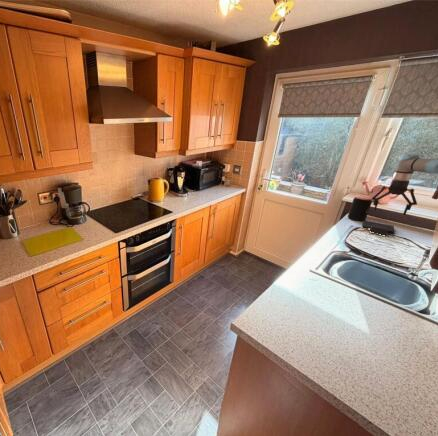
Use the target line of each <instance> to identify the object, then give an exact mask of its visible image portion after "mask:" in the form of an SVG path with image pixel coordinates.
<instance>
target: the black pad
mask: <svg viewBox="0 0 438 436" xmlns="http://www.w3.org/2000/svg"><path fill="white" fill-rule="evenodd" d="M370 231H371V232H374V233H378V234H381V235H385V236H386V237H387V235H388V226H384V225H378V224H373V223H372V224H371V227H370Z"/></svg>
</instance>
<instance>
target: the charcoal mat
mask: <svg viewBox="0 0 438 436" xmlns="http://www.w3.org/2000/svg"><path fill="white" fill-rule="evenodd" d="M372 223H373V224H378V225H384V226H388V233H387V235H392V236H393V235H395V233H396V229H395V226H394V225H391V224H387V223H381V222H375V221H370V220H363V221H362V226H361V228H362V227H363V228H370V227H371V224H372ZM363 228H362V229H363Z"/></svg>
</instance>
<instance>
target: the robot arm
mask: <svg viewBox="0 0 438 436" xmlns="http://www.w3.org/2000/svg"><path fill="white" fill-rule="evenodd" d="M414 172H417V173H424V174H425V173H426V174H430V175H431V174H434V175H435V174H436V175H438V158H423V157H420V154H419V153H403V154H401V155H400V158H399V159H398V162H397V165H396V169H395V171H394V173H393V176H392V180H391V181H390V184H389V186H387V185H386V186H385V185H382V186H381V188H380V189H379V190H378V191H377V192H376V193H375V194H374V195H372V196H371V197H372V199H373V200H372V201H373V206H374V207H373V212H375V211H376V210H377V207H378V205H379V203H380V202H379V200H381V199H383V198H384V197H387V196H388V195H397V196H402V197H403V198H404V200H405V201H406V202H407V204H406V205H405V208H404V210H403V212H402V215H403V216H406V214H407V211H410V210H411V209H412V206H416V205H418V202H417V199H416V196H415V189H414V188H408V187H409V185H410V181H411V179H412V177H413V174H414ZM385 190H388V191H386V192H384V191H385ZM383 192H384V193H383ZM406 192H408V193H410V197H411V199H412V202H411V200H410V199H409V197H408V196H407V194H406ZM381 193H382V194H381Z"/></svg>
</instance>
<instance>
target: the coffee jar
mask: <svg viewBox="0 0 438 436" xmlns="http://www.w3.org/2000/svg"><path fill="white" fill-rule="evenodd" d="M372 197H373V196H368V195H360V194H355V195H354V196H353V198H352V202H351V205H350V209H349V211H348V215H347V218H348V219H349V220H351V221H354V222H363V220H365V221H367V217H368V214H369V211H370V209H371V206H372V203H373V201H374V200H373V199H372Z"/></svg>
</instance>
